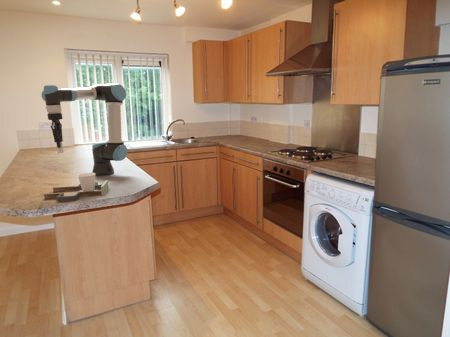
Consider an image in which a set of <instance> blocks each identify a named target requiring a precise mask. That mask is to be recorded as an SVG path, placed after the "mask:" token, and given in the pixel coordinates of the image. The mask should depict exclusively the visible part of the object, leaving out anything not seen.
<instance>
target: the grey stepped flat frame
mask: <svg viewBox="0 0 450 337" xmlns="http://www.w3.org/2000/svg"><path fill="white" fill-rule="evenodd" d="M102 185H103V184H98V185H95V186H94V191H85V192H83V191H81V190H80V186H78V185H74V186H58V187H57V186H56V187H52V191H53V193H44V194H43V198H44V200H48V199H57V196H58V195H59V194H62V193H63V196H65V195H64V192H75V191H79V192H80V198H81V197H94V196H96V197H97V196H102V195H101V186H102Z"/></svg>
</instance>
